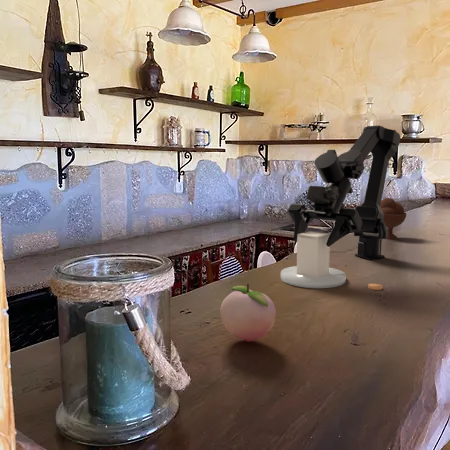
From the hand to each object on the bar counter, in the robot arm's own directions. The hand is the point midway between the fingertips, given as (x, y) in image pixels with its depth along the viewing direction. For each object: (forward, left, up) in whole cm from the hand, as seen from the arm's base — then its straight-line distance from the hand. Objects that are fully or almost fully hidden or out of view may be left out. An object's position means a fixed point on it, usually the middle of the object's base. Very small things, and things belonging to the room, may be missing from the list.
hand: (310, 243), depth 110 cm
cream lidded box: (-1, -1, -8) cm, 8 cm away
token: (-9, +12, -9) cm, 18 cm away
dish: (-1, -1, -9) cm, 9 cm away
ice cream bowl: (-62, -33, -10) cm, 71 cm away
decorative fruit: (+33, +25, -10) cm, 43 cm away
